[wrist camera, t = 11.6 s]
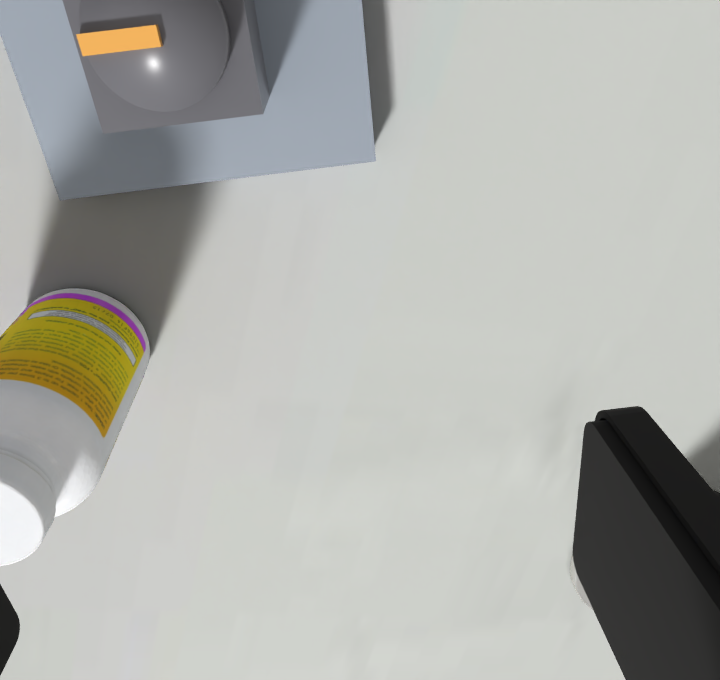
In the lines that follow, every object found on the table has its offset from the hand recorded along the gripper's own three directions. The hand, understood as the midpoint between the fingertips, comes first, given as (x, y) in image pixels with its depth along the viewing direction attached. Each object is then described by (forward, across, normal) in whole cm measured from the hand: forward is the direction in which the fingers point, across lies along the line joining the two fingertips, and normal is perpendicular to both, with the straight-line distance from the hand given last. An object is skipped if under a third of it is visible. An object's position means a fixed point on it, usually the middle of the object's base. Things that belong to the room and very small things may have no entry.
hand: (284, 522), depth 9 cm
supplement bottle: (+22, +13, +7) cm, 27 cm away
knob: (+20, +4, -7) cm, 21 cm away
